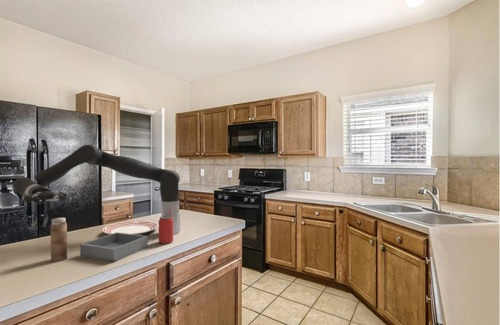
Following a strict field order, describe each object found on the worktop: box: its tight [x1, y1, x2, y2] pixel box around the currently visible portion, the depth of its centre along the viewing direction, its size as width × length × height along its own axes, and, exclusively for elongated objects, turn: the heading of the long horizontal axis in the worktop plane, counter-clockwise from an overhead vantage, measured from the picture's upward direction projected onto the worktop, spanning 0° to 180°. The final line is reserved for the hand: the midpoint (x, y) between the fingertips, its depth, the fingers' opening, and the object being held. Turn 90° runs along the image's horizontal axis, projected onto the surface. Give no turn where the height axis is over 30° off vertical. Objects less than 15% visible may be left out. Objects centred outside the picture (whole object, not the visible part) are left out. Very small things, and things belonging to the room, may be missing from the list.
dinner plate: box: [101, 220, 159, 236], centre depth 141 cm, size 28×27×3 cm
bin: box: [79, 232, 149, 263], centre depth 111 cm, size 18×18×5 cm
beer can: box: [158, 216, 174, 245], centre depth 124 cm, size 7×7×12 cm
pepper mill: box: [50, 217, 68, 263], centre depth 102 cm, size 5×5×16 cm
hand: (51, 199), depth 106 cm, fingers open, 8 cm apart
